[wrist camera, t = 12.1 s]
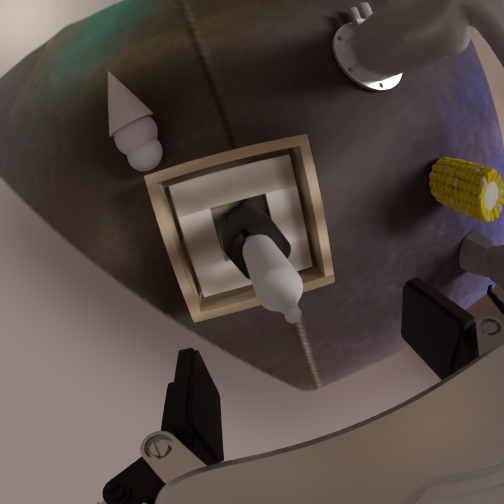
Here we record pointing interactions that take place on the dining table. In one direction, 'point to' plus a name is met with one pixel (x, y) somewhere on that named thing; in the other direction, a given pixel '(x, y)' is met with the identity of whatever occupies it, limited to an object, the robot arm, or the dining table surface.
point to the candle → (262, 258)
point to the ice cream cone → (132, 127)
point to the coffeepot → (484, 261)
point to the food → (468, 188)
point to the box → (226, 198)
